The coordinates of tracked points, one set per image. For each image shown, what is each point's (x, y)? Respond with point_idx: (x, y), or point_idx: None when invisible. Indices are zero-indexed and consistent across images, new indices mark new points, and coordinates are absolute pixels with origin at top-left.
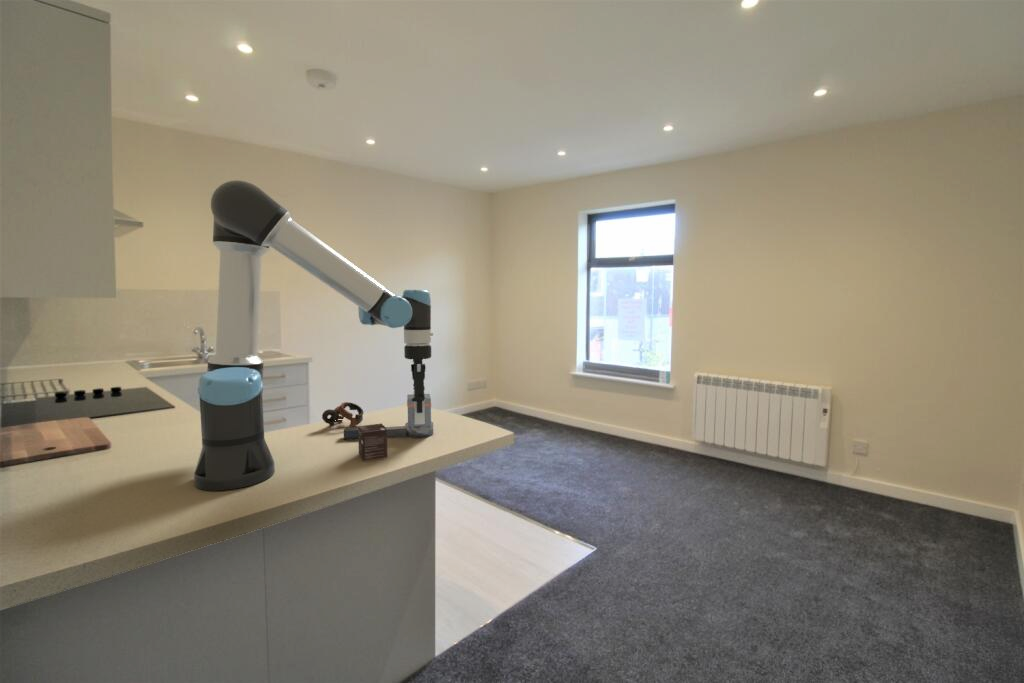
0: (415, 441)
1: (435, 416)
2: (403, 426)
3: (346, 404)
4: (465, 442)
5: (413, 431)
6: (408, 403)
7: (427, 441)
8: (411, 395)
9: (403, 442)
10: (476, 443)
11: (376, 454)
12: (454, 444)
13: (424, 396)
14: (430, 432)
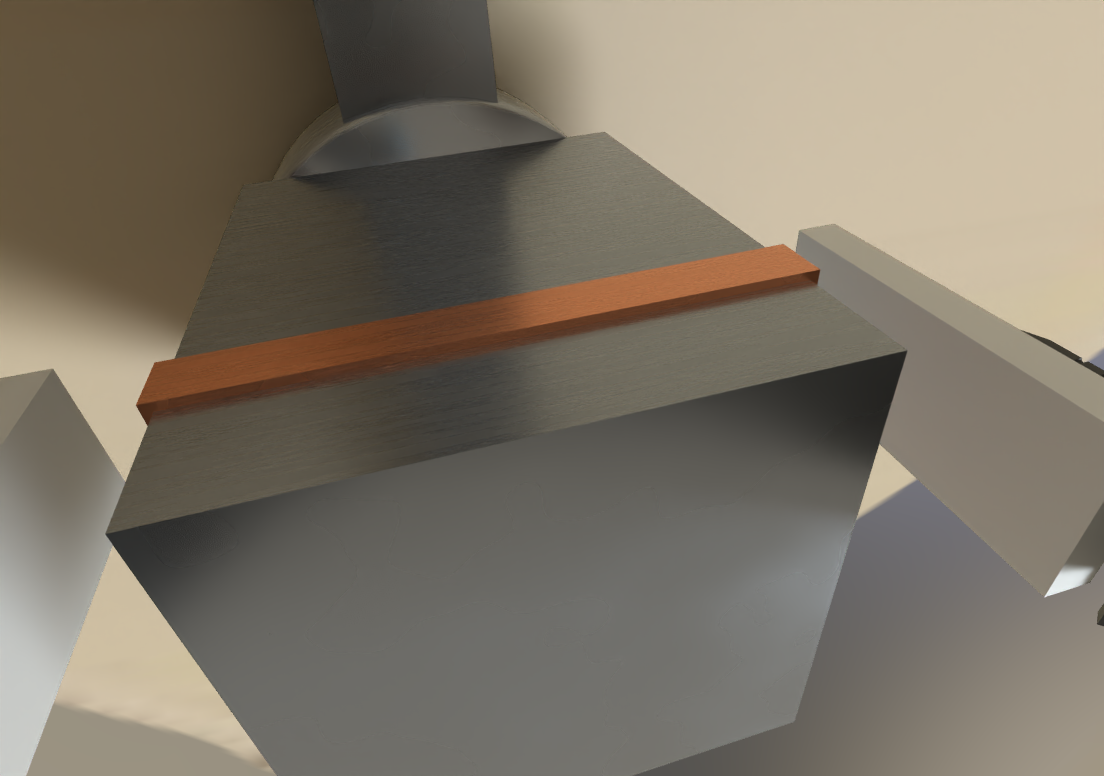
0: (110, 258)
1: (1022, 312)
2: (465, 64)
3: None
4: (176, 657)
5: None
6: (154, 454)
7: (141, 387)
8: (738, 487)
9: (14, 99)
10: (163, 715)
11: None
12: (92, 609)
13: (544, 744)
14: None
